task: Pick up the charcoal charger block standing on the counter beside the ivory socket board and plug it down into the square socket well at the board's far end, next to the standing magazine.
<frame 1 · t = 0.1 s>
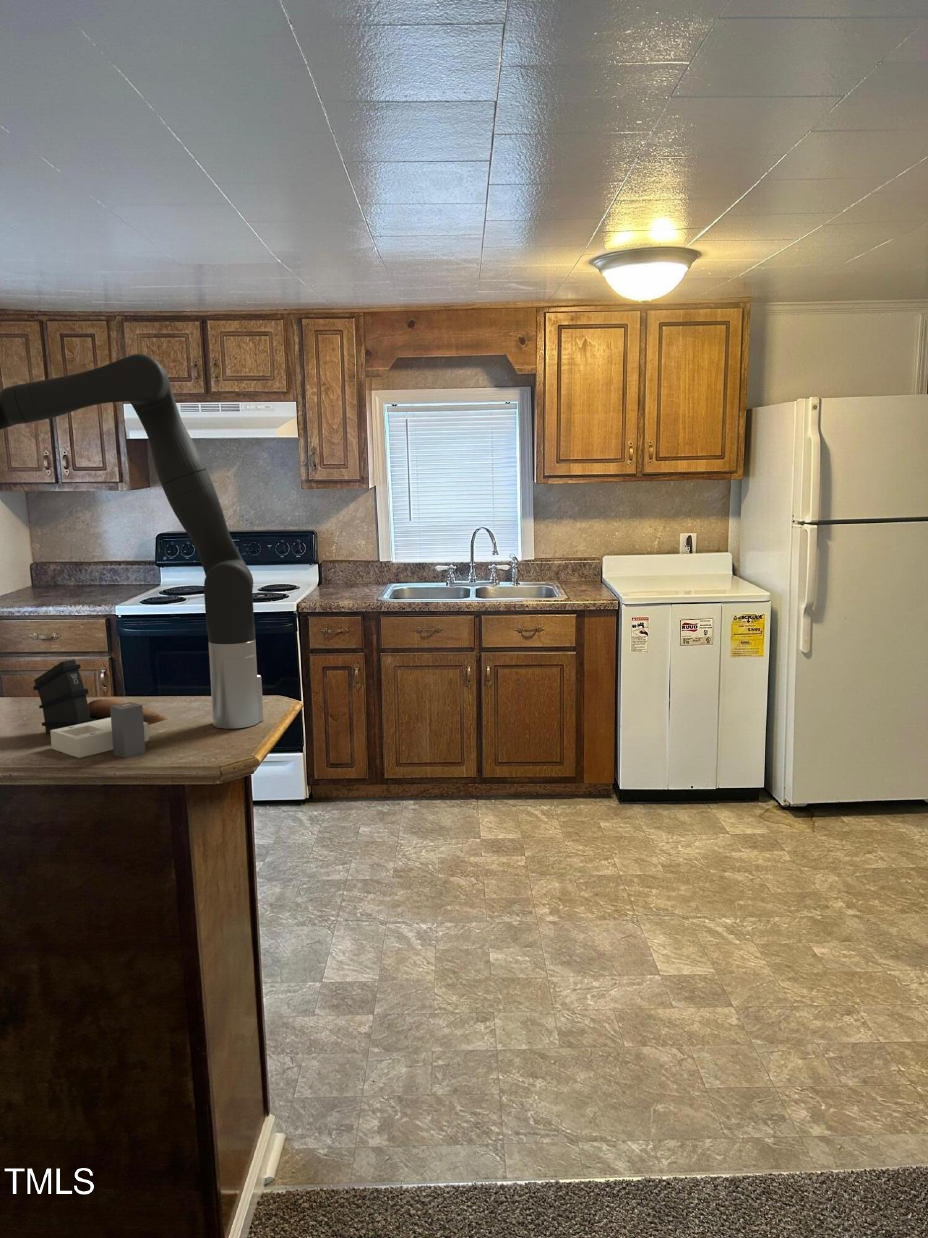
magazine: (65, 735, 178), on the table
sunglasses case: (127, 721, 191), on the table
charger plug: (129, 753, 164), on the table
outlet board: (101, 744, 170), on the table
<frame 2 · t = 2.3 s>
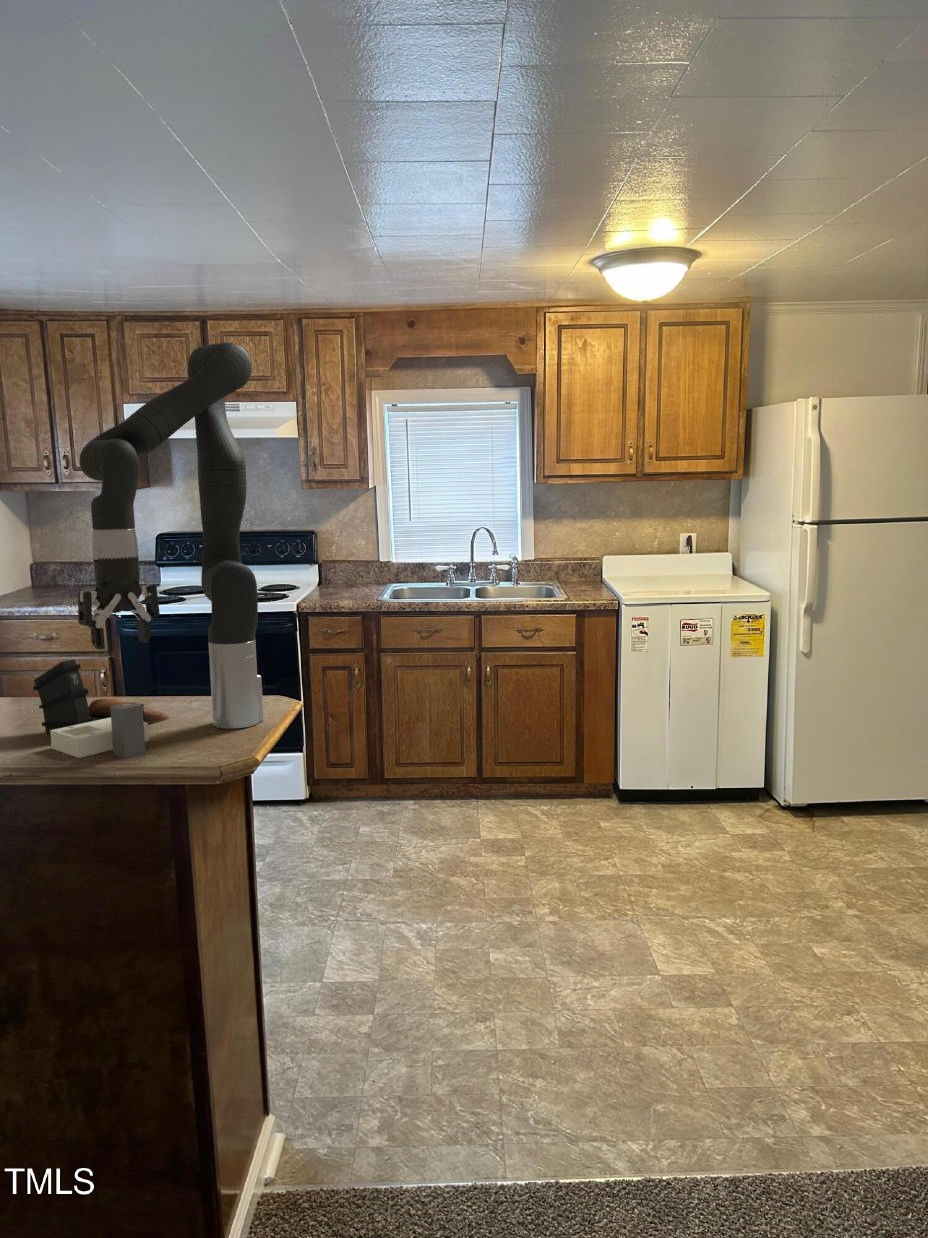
hand: (122, 645, 161), 20 cm above the table, tool pointing down, fingers open, 8 cm apart
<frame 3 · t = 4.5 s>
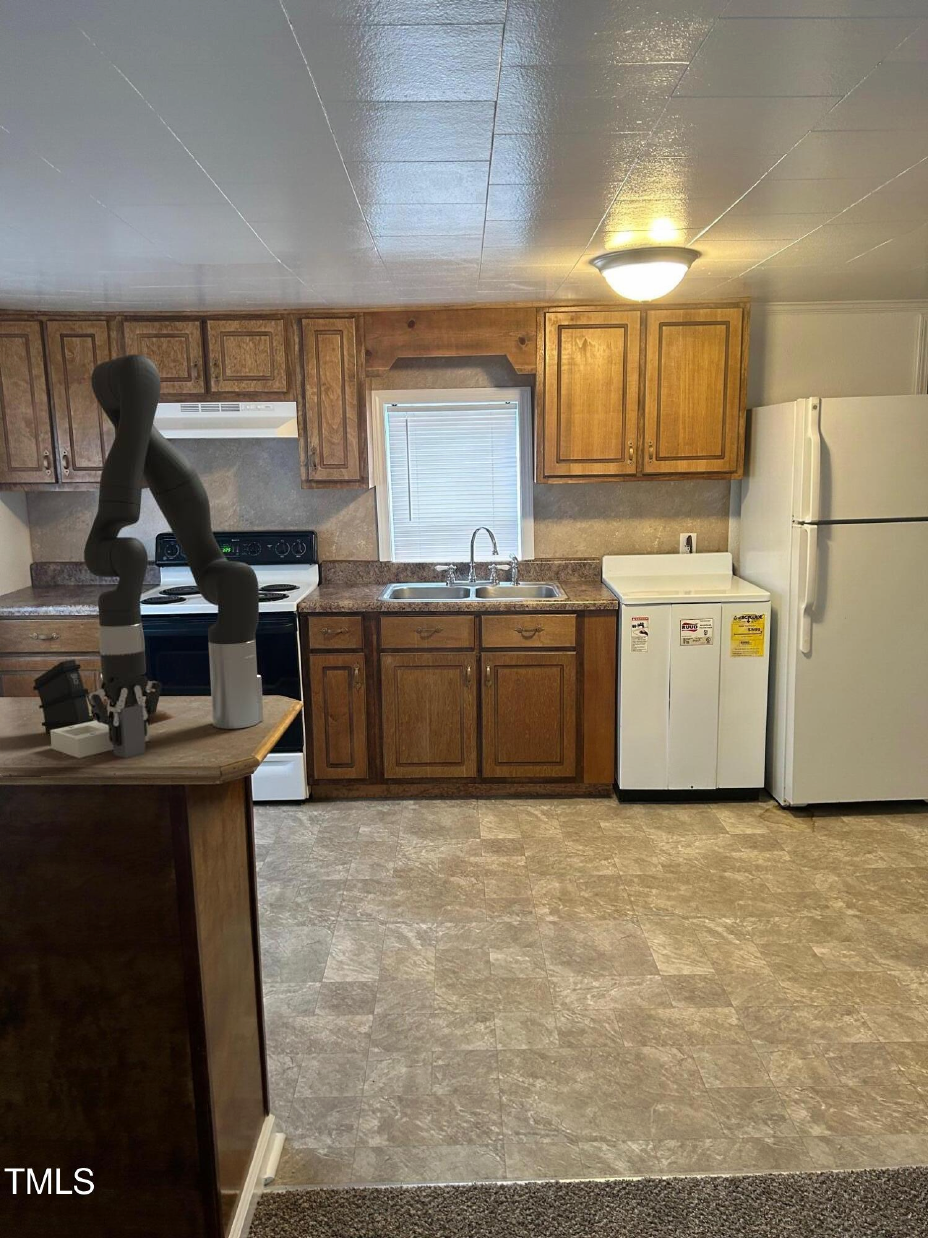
hand: (128, 741, 164), 2 cm above the table, tool pointing down, fingers closed on charger plug, 4 cm apart
charger plug: (129, 753, 164), on the table, touching gripper
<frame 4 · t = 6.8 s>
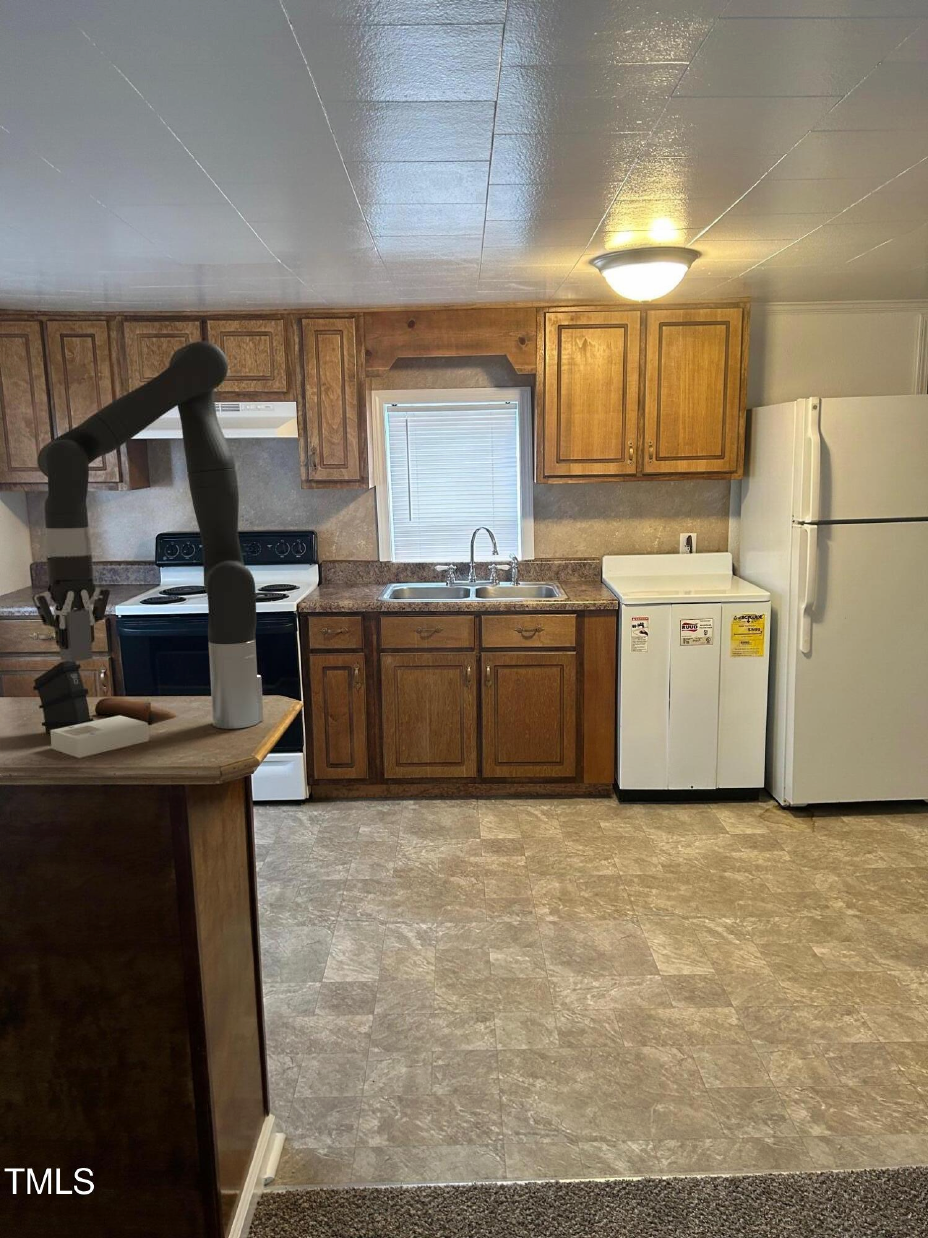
hand: (75, 646, 165), 19 cm above the table, tool pointing down, fingers closed on charger plug, 4 cm apart
charger plug: (76, 658, 165), point 17 cm above the table, touching gripper
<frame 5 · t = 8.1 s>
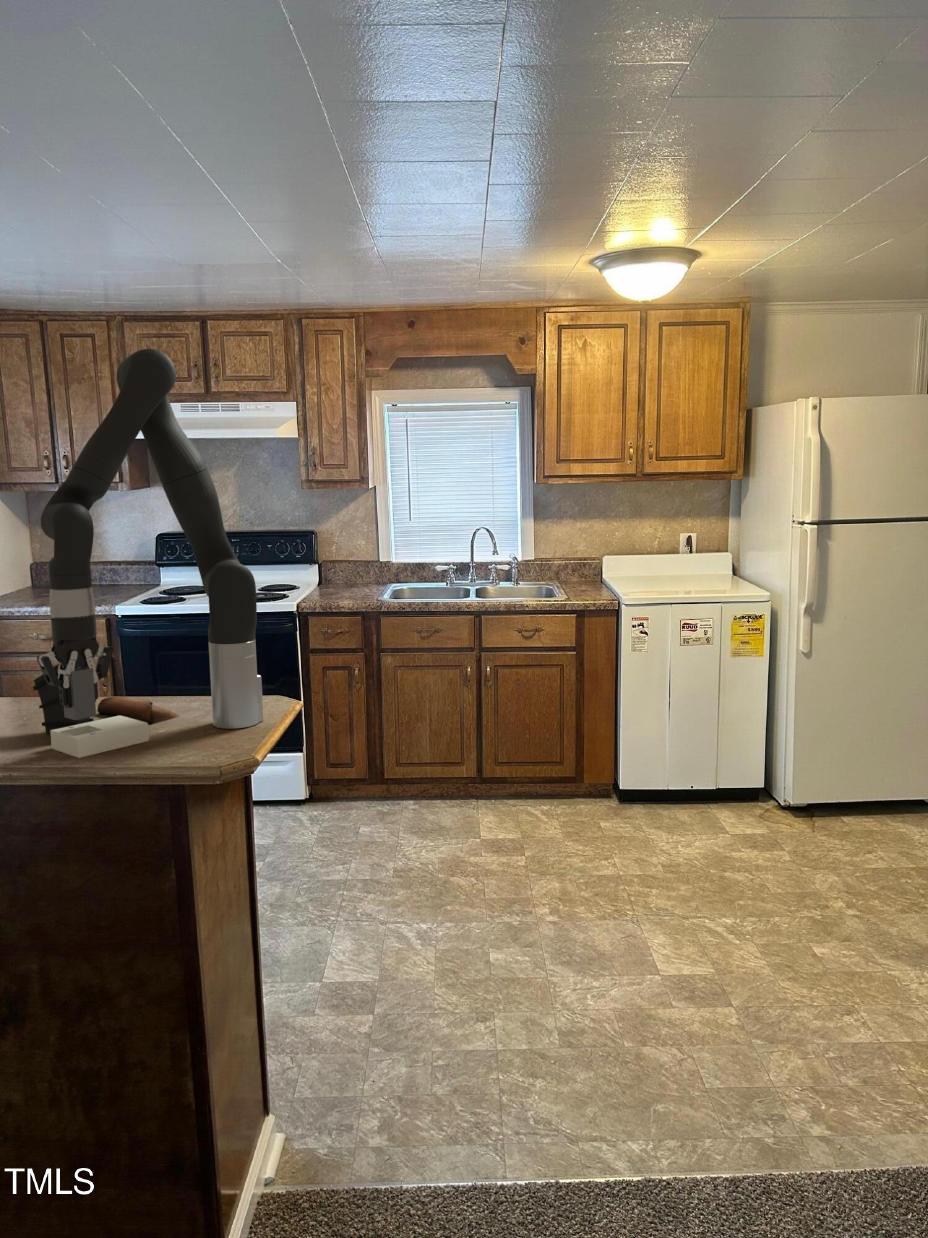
hand: (79, 704, 167), 8 cm above the table, tool pointing down, fingers closed on charger plug, 4 cm apart
charger plug: (80, 716, 167), point 6 cm above the table, touching gripper
when the fingers open (5 cm above the table, at t = 9.1 s): charger plug drops 2 cm, resting in outlet board.
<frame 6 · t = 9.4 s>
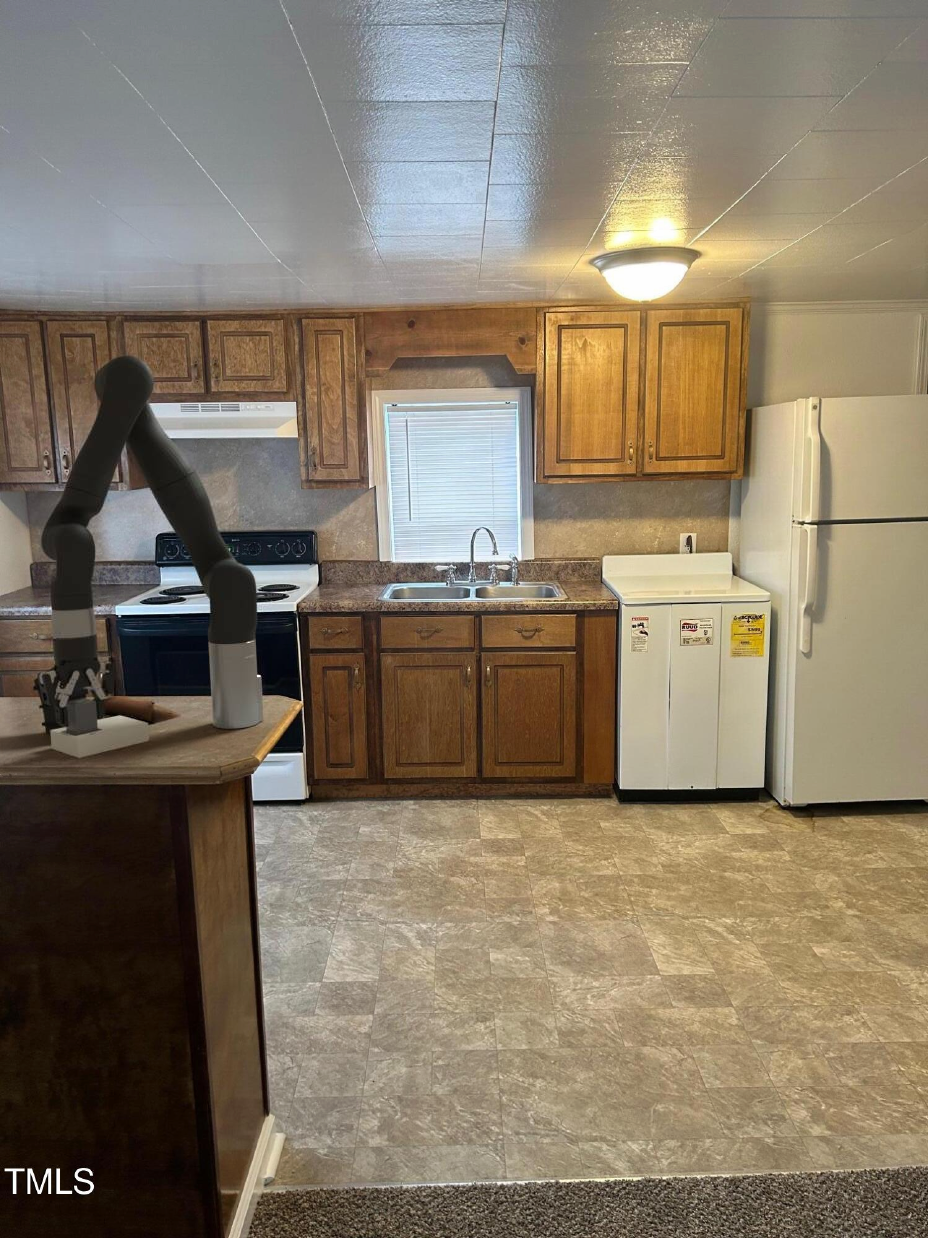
hand: (81, 722, 167), 5 cm above the table, tool pointing down, fingers open, 6 cm apart
charger plug: (83, 749, 168), resting in outlet board
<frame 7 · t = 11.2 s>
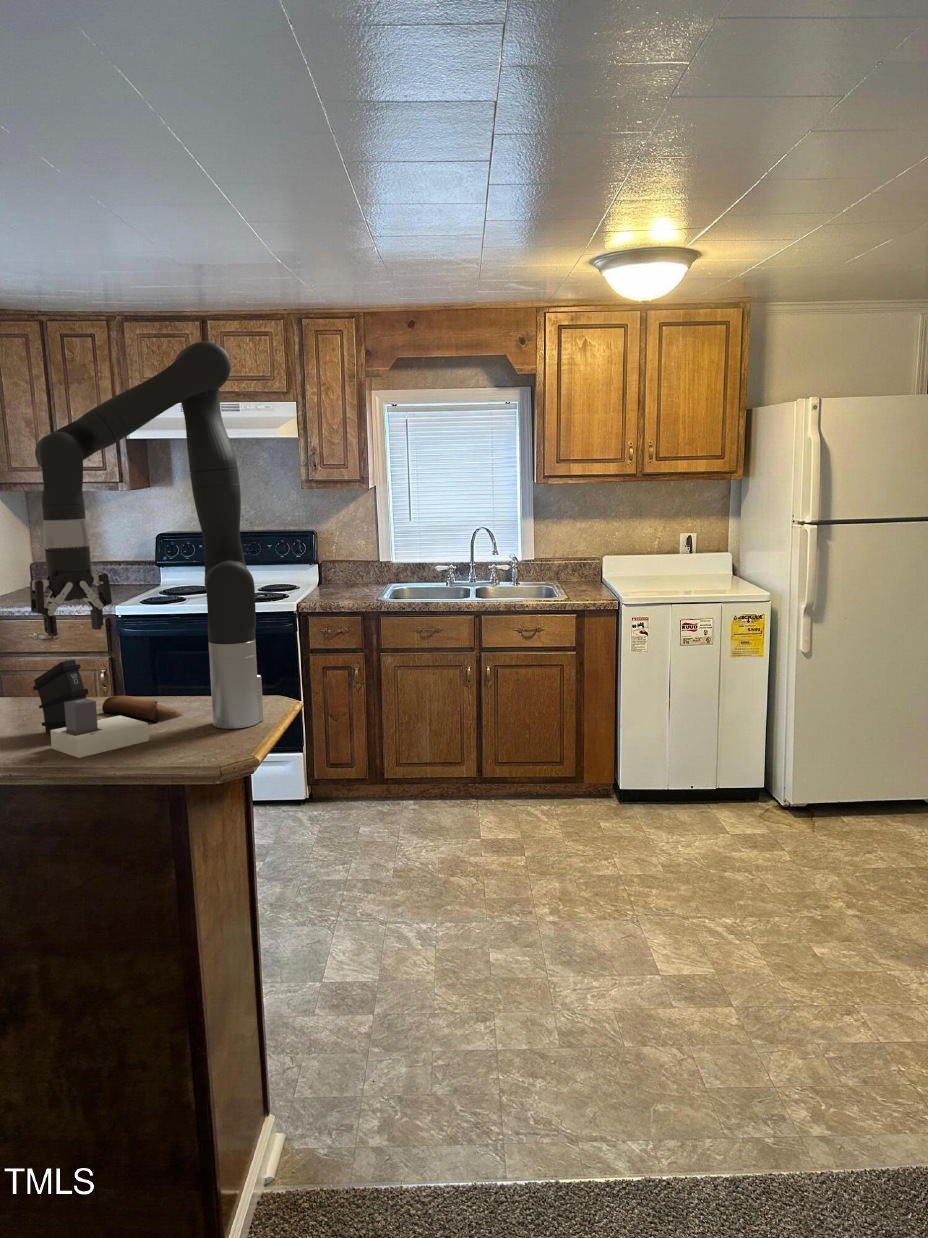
hand: (75, 632, 166), 22 cm above the table, tool pointing down, fingers open, 8 cm apart
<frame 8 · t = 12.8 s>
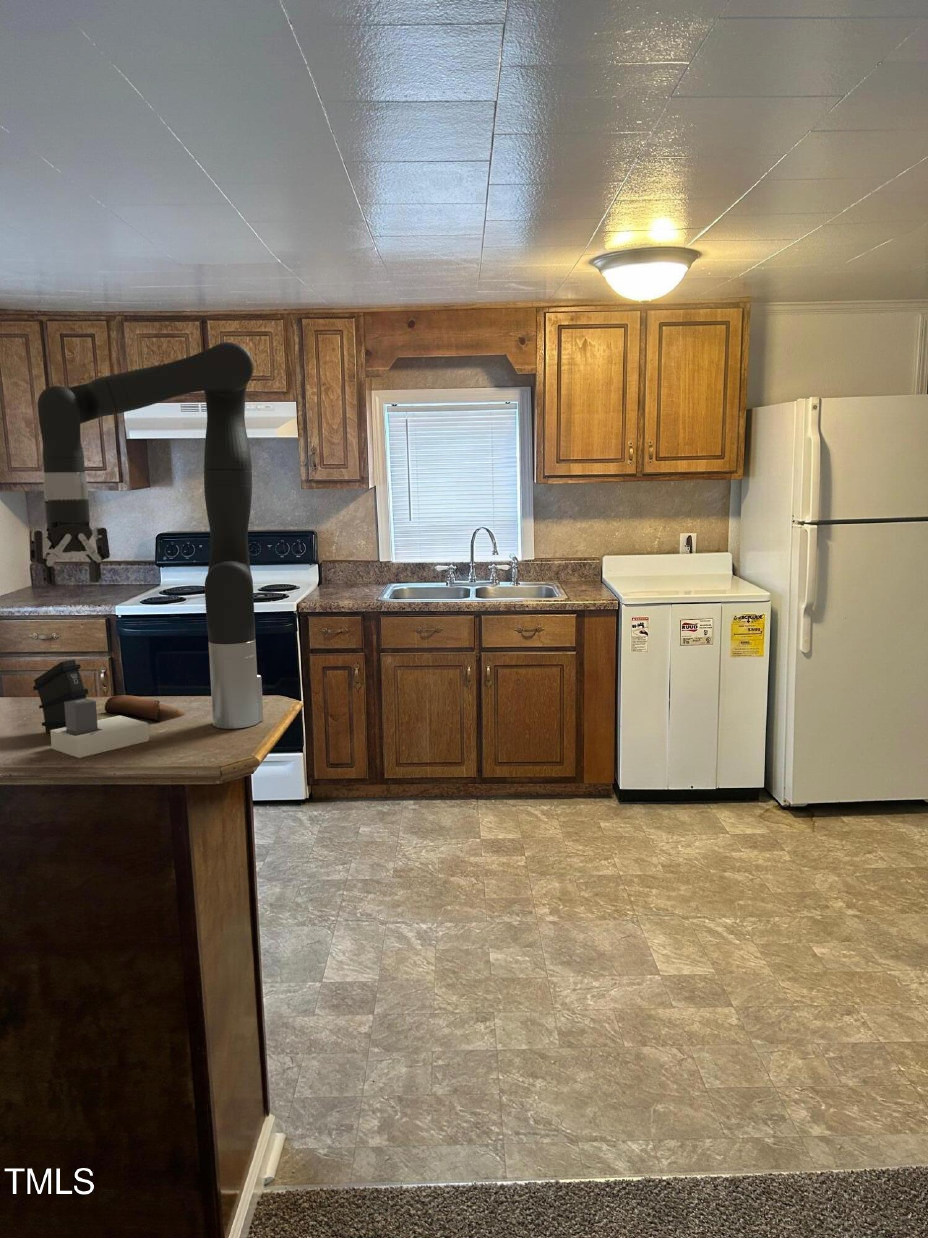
hand: (73, 584, 170), 30 cm above the table, tool pointing down, fingers open, 8 cm apart
at the end: charger plug 0.1 cm from the target spot on the outlet board, point 0.0 cm above the outlet board's base; charger plug tilted 0°; the gripper is holding nothing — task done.
